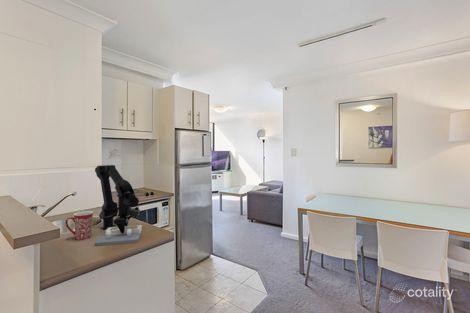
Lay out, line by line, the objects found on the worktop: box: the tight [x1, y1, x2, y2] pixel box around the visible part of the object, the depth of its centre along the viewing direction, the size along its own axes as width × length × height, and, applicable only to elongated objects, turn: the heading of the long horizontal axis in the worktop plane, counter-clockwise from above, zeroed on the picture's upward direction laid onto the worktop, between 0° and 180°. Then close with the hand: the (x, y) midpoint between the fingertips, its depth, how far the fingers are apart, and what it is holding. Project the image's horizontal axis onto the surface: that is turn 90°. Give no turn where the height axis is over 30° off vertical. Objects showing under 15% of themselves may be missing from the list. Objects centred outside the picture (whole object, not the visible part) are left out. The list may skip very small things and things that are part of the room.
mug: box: [65, 210, 94, 241], centre depth 123 cm, size 13×9×14 cm
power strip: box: [104, 224, 143, 236], centre depth 130 cm, size 6×18×3 cm, turn 104°
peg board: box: [94, 229, 142, 247], centre depth 120 cm, size 10×20×6 cm, turn 104°
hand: (124, 231), depth 130 cm, fingers open, 7 cm apart
